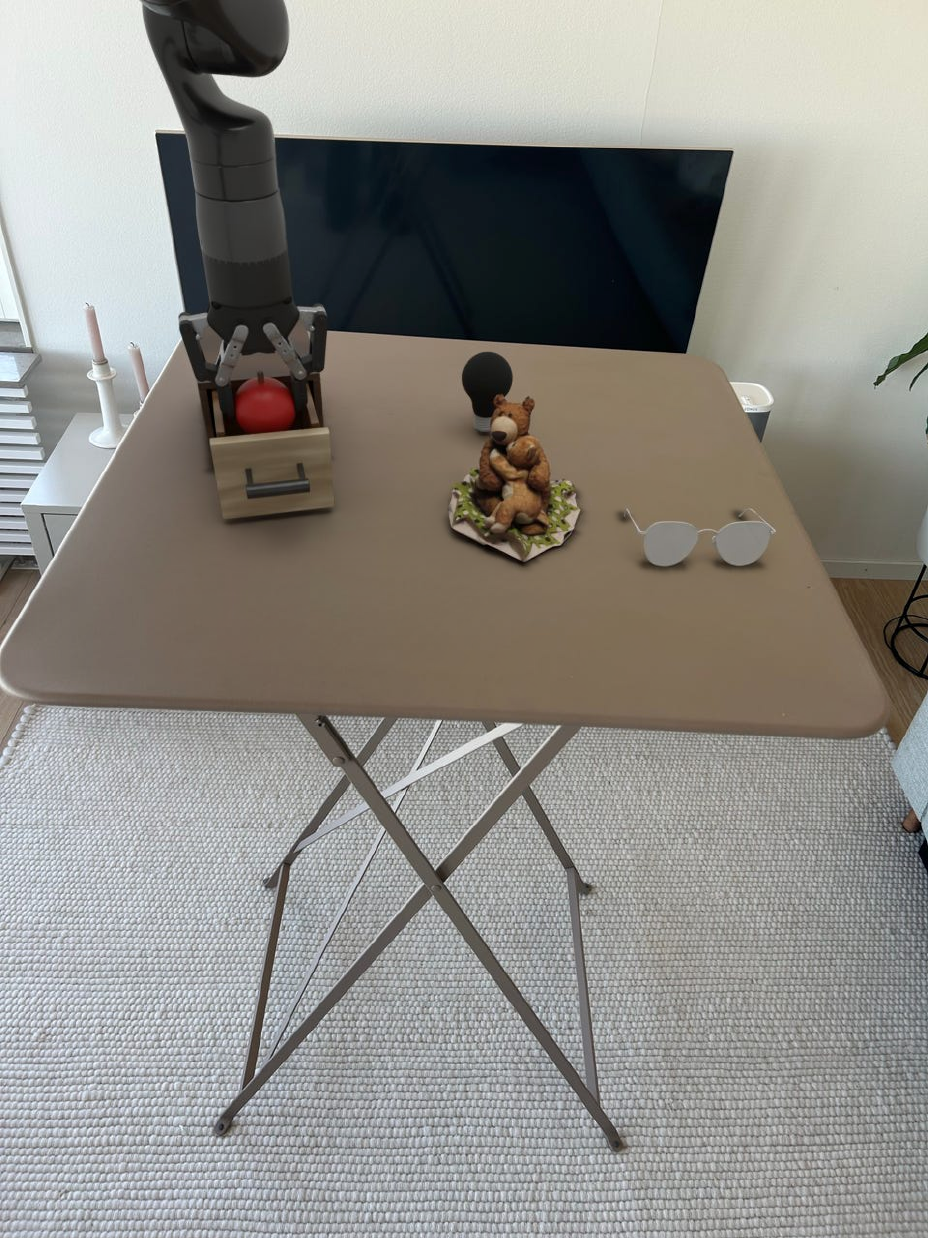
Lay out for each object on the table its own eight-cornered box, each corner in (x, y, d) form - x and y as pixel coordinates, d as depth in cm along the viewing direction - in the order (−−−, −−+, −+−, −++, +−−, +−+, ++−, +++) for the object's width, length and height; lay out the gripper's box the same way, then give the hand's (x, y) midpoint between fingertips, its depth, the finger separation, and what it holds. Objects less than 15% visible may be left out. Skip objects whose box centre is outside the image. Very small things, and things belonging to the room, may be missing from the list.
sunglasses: (634, 566, 88) (641, 522, 86) (616, 527, 95) (622, 485, 93) (769, 565, 89) (780, 521, 87) (741, 527, 96) (751, 485, 94)
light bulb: (512, 424, 108) (520, 347, 101) (501, 448, 103) (507, 370, 97) (466, 416, 109) (470, 339, 102) (453, 439, 104) (456, 361, 98)
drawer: (341, 530, 89) (336, 456, 83) (225, 545, 87) (212, 469, 81) (316, 439, 102) (311, 368, 96) (215, 449, 99) (203, 377, 93)
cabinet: (326, 458, 100) (319, 372, 93) (212, 470, 98) (197, 383, 90) (309, 396, 111) (302, 314, 103) (206, 405, 108) (191, 322, 101)
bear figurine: (423, 536, 91) (424, 432, 82) (481, 465, 101) (487, 366, 93) (547, 575, 87) (561, 470, 79) (594, 497, 97) (612, 397, 89)
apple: (249, 456, 88) (240, 392, 83) (229, 427, 92) (218, 364, 87) (307, 442, 91) (301, 379, 86) (285, 414, 94) (278, 352, 90)
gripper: (160, 263, 74) (193, 438, 85) (331, 253, 77) (341, 423, 88) (159, 231, 79) (190, 399, 90) (319, 223, 82) (330, 387, 94)
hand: (265, 411), depth 89 cm, fingers closed on apple, 6 cm apart
